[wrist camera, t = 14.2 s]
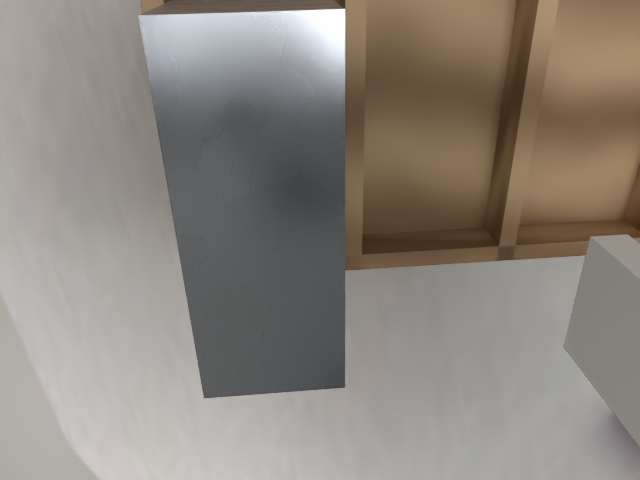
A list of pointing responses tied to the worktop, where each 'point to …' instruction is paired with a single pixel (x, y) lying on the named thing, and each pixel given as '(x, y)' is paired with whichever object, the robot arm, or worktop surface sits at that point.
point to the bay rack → (488, 128)
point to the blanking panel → (256, 184)
